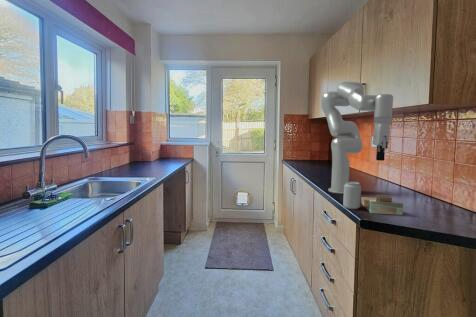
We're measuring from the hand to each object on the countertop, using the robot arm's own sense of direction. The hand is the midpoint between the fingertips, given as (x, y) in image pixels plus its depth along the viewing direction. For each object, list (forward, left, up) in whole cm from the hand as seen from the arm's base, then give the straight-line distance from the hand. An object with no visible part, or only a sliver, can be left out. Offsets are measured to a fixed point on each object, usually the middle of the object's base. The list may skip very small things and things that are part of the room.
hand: (380, 160), depth 145 cm
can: (+6, -13, -22) cm, 27 cm away
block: (+11, 0, -19) cm, 22 cm away
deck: (+5, 0, -22) cm, 23 cm away
